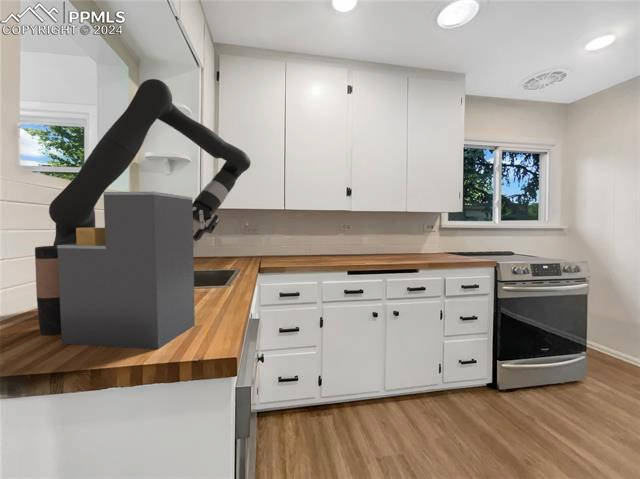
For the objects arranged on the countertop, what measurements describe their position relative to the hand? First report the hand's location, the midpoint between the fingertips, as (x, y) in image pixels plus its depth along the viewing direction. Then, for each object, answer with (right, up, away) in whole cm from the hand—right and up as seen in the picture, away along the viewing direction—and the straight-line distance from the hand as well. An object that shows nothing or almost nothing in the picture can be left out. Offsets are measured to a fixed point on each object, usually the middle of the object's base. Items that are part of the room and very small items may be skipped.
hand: (183, 234), depth 94 cm
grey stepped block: (+1, -23, -26) cm, 35 cm away
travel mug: (-18, -23, -24) cm, 38 cm away
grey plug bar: (-4, -2, -22) cm, 22 cm away
